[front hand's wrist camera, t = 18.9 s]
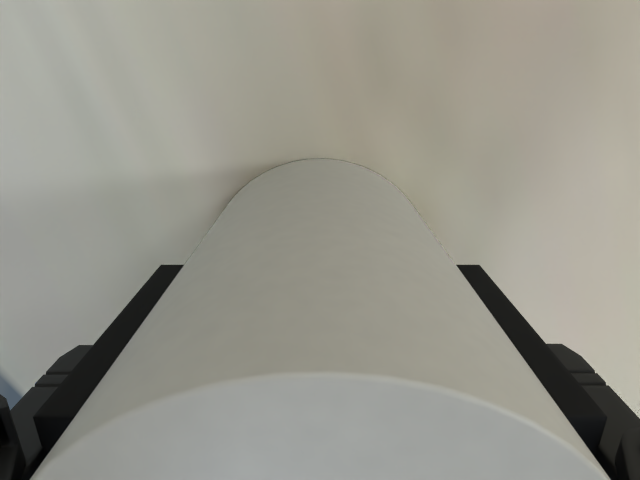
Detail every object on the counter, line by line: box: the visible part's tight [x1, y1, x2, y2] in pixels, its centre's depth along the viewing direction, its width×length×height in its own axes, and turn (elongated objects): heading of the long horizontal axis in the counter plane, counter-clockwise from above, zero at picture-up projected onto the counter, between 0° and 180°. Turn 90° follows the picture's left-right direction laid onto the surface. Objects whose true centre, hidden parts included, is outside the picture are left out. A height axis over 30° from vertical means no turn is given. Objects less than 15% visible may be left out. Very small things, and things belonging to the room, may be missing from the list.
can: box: [30, 159, 611, 480], centre depth 11 cm, size 8×8×12 cm
